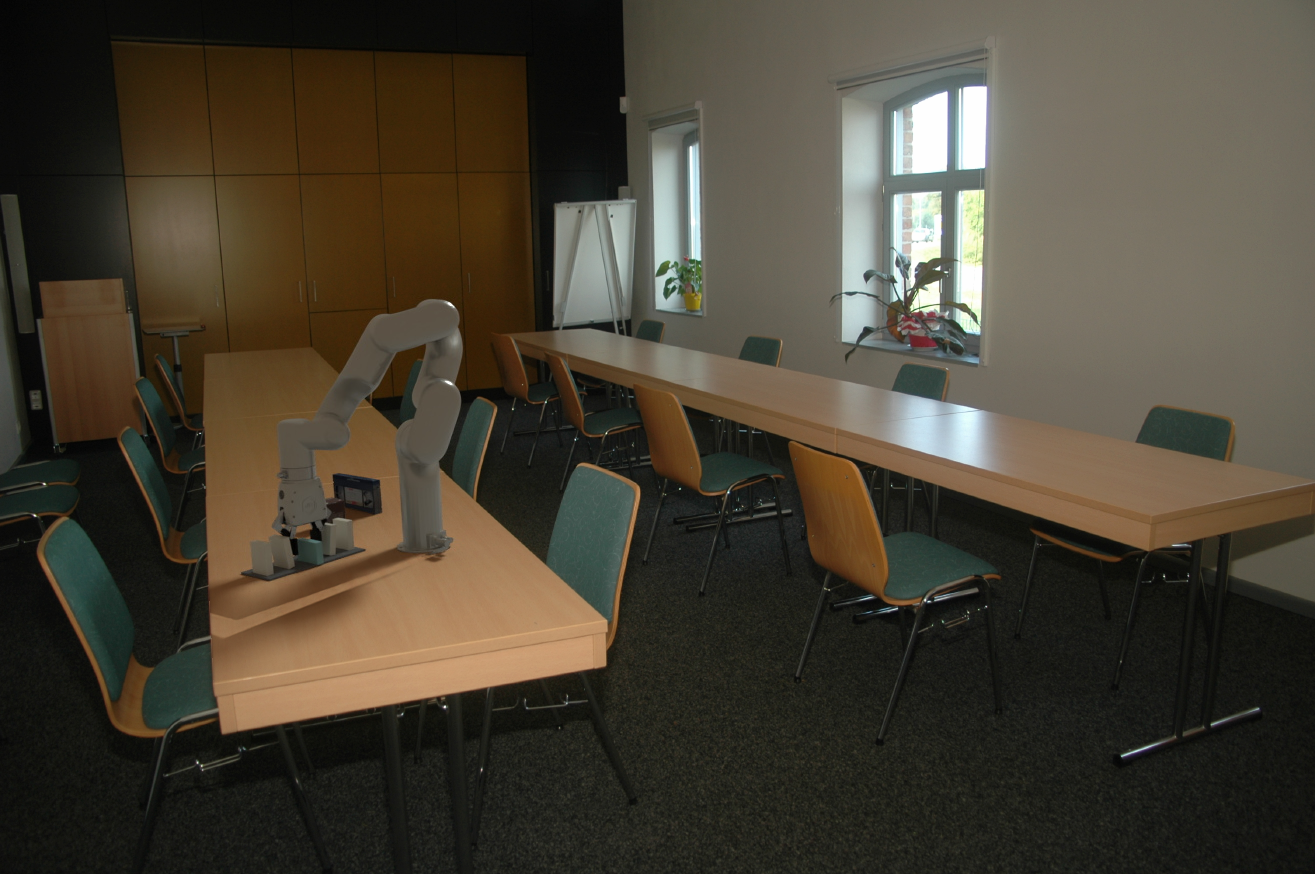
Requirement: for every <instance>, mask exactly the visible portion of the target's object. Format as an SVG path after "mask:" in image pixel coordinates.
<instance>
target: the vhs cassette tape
mask: <svg viewBox="0 0 1315 874" xmlns="http://www.w3.org/2000/svg"><path fill="white" fill-rule="evenodd" d="M332 482H333V483H332V484H333V496H334V497H333V498H337V499H341V500H344V503H345V509H346V508H347V509H350V510H355V511H359V512H363V513H367V514H372V515H375V516H376V515H378V514H383V504H382V502H383V501H382V491H381V490H382V489H381V479H376V478H373V477H366V476H360V475H354V474H348V473H340V472H338V473H333V474H332Z"/></svg>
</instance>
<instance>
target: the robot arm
mask: <svg viewBox="0 0 1315 874" xmlns="http://www.w3.org/2000/svg"><path fill="white" fill-rule="evenodd" d="M459 325H460V313H459V310H458V309H457V308H456V307H455V305H453V303H452V302H450V301H447V300H444V299H435V298H434V299H433V298H431V299H430V298H428V299H425V300H422V301H421V302H419V303H418V304H417V305H416V306H415V307H413V308H409V309H405V310H403V311H399V312H395V313H391V314H390V313H381V314H377V315H376V316H374V317H373V318H372V319H371V320H370V321H369V323H368V324H367V326H366V327H365V329H364V331H363V332H362V334H361V336H360V338H359V340H358V341H357V343H356V346H355V347H354V349H353V351H352V353H351V354H350V356H349V358H348V360H347V362H346V364H345V365H344V367H343V369H342V370H341V371H340V372H339V375H337V378H336V380H335V381H334V383H333V384H332V385H331V387H330V389H329V390H328V392H327V394H326V395H325V396H324V398H323V400H322V402H321V404H320V406H319V407H318V409H317V411H316V413H315V415H314V417H313V419H312V420H310V419H308V418H300V417H298V418H287V419H283V420H280V421H279V422H278V423H277V425H276V433H277V434H276V435H277V446H278V459H279V472H277V473H276V477H277V479H280V480H281V481H279V482H278V486H277V487H278V488H277V516H276V517H275V519H274V520H273V523H272V524H271V528H272V529H273V530H275V531H276V532H277V533H278V534H280V535H281V536H286V537H289V540H290V545H291V549H292V554H293V556H297V555H298V554H299V552H298V540H297V539H298V538H296V533H297V530H298V529H297V528H298V527H301V526H306V525H308V524H310V525H309V526H310V528H311V529H309V539H311V540H316V541H321V542H322V535H321V531H322V530H323V529H324V527H323V526H324V525H325V523H326V522H327V519H328V518H329V516H330V515H331V511H330V510H329V509H328V508H327V507H326V500H325V499H326V495H325V490H324V486H323V482H322V480H321V477H320V476H317V475H318V474H317V464H316V453H315V452H316V451H338V450H341V449H343V448H344V447H346V446H347V445H348V443H349V442H350V440H351V437H352V433H351V429H350V427H349V425H348V424H349V422H350V420H351V419H352V416H353V415H354V413H355V411H356V410H357V408H358V407H359V405H360V404H361V403H362V402H363V401H364V399H365V398H366V397H368V396H370V394H371V393H373V392H374V391H375V390H376V389H377V388H378V387H379V386H380V384H381V382H382V380H383V378H384V376H385V374H386V373H387V371H388V369H389V367H390V365H391V363H392V362H393V359H395V356H396V354H397V353H398V352H403V351H407V350H410V349H414V348H417V347H420V346H423V345H425V353H424V356H423V359H422V363H421V367H420V370H419V373H418V376H417V379H416V382H415V384H414V387H413V390H412V393H411V402H412V404H413V407H414V408H415V409H416V410H415V413H414V417H413V418H411V419H407V420H406V421H404V422H402V424H401V425H400V426H399V427H398V429H397V430H396V432H395V437H394V446H395V447H394V448H395V455H396V459H397V460H396V461H397V466H398V467H397V468H398V469H397V470H398V479H399V495H400V496H399V497H400V511H401V513H400V514H401V526H402V527H401V528H402V529H401V530H402V541H401V542H399V543H398V544H397V545H396V550H398V551H400V552H403V553H408V554H423V553H426V554H425V556H426V555H427V556H428V555H433V554H434V555H435V554H438V553H442V552H445V551H447V550H448V549H450V548H451V544H452V543H453V542H454V538H453V537H450V536H447V530H445V529H444V523H443V506H442V503H443V502H442V487H441V486H442V485H441V484H442V483H441V481H442V480H441V469H440V462H439V461H440V460H441V459H442V458H444V455H445V454H446V453H447V450H448V447H449V445H450V441H451V438H452V435H453V434H454V429H455V426H456V423H457V420H458V417H459V414H460V411H461V405H462V397H461V393H460V390H459V388H458V387H457V386H456V381H457V377H458V374H459V370H460V367H461V362H462V358H463V352H464V351H463V350H464V349H463V348H464V347H463V339H462V335H461V332H460V328H459Z"/></svg>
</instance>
